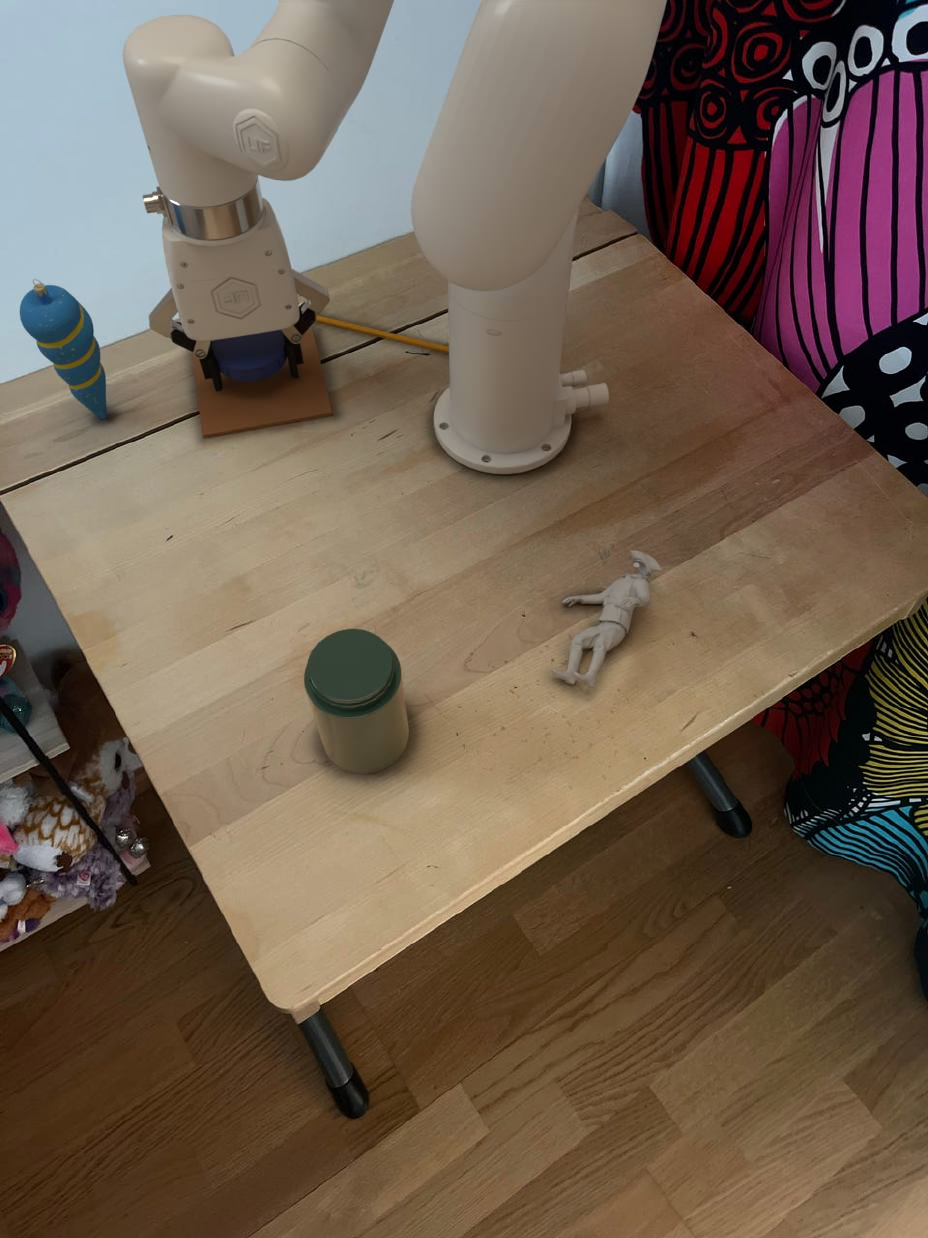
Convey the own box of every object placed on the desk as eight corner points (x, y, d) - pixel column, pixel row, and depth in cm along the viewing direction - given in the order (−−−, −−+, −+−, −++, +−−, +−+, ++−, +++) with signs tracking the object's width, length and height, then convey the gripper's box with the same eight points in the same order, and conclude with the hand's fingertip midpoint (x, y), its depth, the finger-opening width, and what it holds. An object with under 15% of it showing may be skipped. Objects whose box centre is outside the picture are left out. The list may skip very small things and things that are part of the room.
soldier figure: (525, 669, 72) (582, 535, 74) (568, 694, 74) (622, 563, 76) (589, 679, 65) (650, 531, 67) (634, 706, 67) (691, 562, 70)
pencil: (480, 358, 90) (480, 351, 89) (478, 362, 89) (478, 356, 89) (304, 316, 93) (303, 309, 93) (301, 320, 93) (300, 314, 92)
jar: (399, 687, 70) (389, 613, 61) (417, 763, 66) (409, 695, 58) (315, 706, 69) (293, 633, 60) (330, 783, 65) (308, 718, 57)
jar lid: (281, 326, 87) (279, 313, 86) (292, 375, 84) (290, 361, 82) (211, 338, 86) (207, 324, 85) (219, 387, 83) (216, 374, 81)
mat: (313, 331, 92) (312, 328, 91) (332, 415, 85) (332, 412, 85) (192, 351, 90) (191, 348, 90) (203, 438, 84) (202, 435, 83)
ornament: (116, 441, 84) (53, 305, 71) (63, 433, 84) (-8, 296, 72) (138, 401, 86) (81, 263, 74) (87, 394, 87) (22, 256, 74)
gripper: (102, 245, 69) (166, 417, 84) (330, 213, 71) (353, 386, 86) (99, 188, 73) (161, 362, 88) (316, 159, 75) (339, 334, 90)
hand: (255, 373), depth 87 cm, fingers closed on jar lid, 6 cm apart
